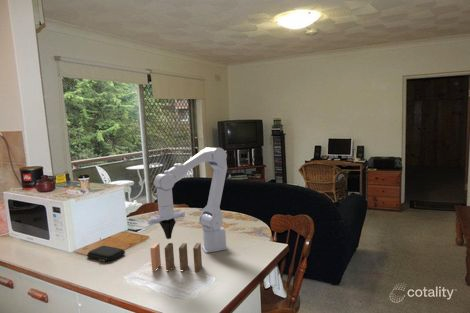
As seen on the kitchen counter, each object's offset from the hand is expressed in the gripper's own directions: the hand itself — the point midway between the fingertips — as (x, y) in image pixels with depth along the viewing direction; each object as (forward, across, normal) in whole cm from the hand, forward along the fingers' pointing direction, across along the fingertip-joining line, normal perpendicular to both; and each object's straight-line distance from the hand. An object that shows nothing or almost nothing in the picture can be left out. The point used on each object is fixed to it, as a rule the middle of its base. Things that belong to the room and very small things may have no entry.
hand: (168, 238), depth 128 cm
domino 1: (+10, +2, +4) cm, 11 cm away
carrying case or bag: (+11, +20, -24) cm, 33 cm away
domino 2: (+10, -2, +8) cm, 13 cm away
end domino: (+10, +6, +1) cm, 12 cm away
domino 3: (+10, -6, +12) cm, 17 cm away
